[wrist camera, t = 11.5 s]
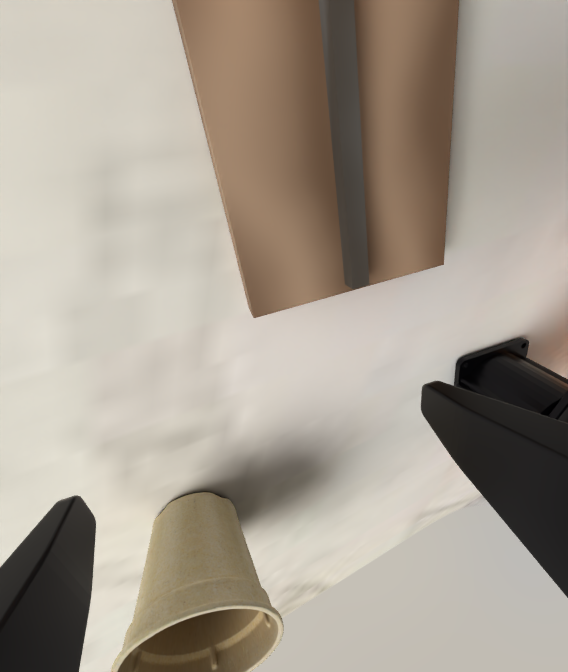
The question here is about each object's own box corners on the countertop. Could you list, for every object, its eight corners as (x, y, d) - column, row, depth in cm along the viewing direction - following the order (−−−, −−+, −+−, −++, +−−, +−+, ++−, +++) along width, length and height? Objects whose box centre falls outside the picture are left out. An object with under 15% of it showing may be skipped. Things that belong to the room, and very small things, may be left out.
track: (449, -390, 11) (657, -824, 6) (427, 259, 21) (498, 283, 17) (67, -420, 9) (-60, -1083, 4) (249, 308, 20) (271, 352, 15)
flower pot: (275, 516, 28) (308, 639, 21) (179, 573, 28) (179, 717, 21) (216, 454, 24) (233, 583, 16) (101, 522, 24) (65, 684, 16)
